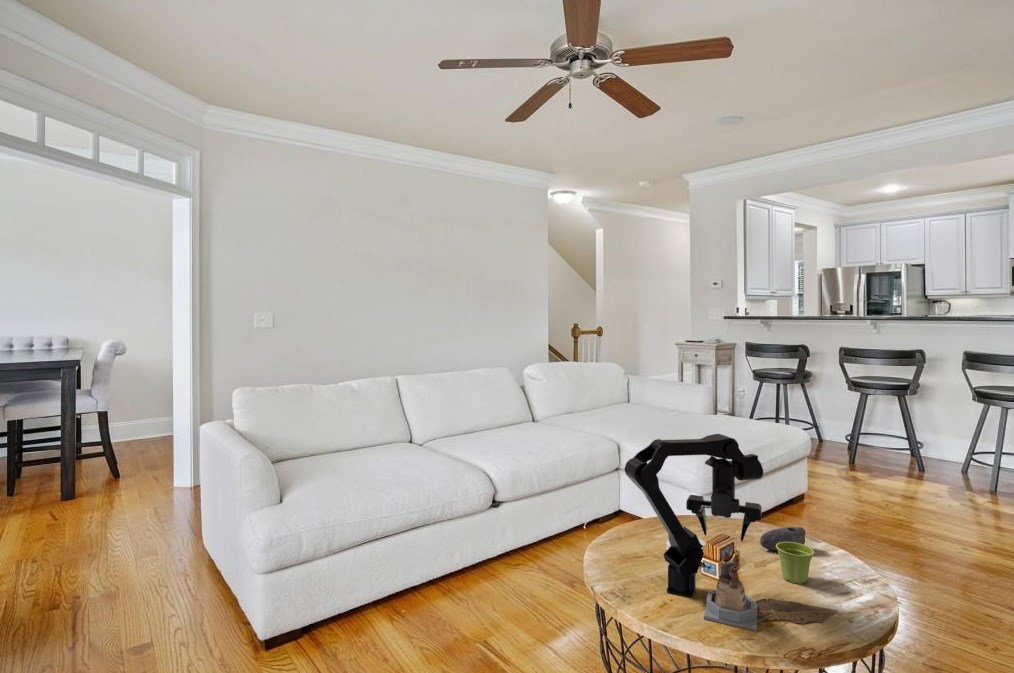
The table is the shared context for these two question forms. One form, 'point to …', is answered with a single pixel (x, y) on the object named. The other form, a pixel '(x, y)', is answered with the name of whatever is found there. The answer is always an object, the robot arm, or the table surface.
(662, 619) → the table surface
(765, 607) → the wooden fragment
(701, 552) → the robot arm
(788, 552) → the plant pot
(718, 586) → the figurine
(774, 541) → the perforated stone tool
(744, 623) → the tray
